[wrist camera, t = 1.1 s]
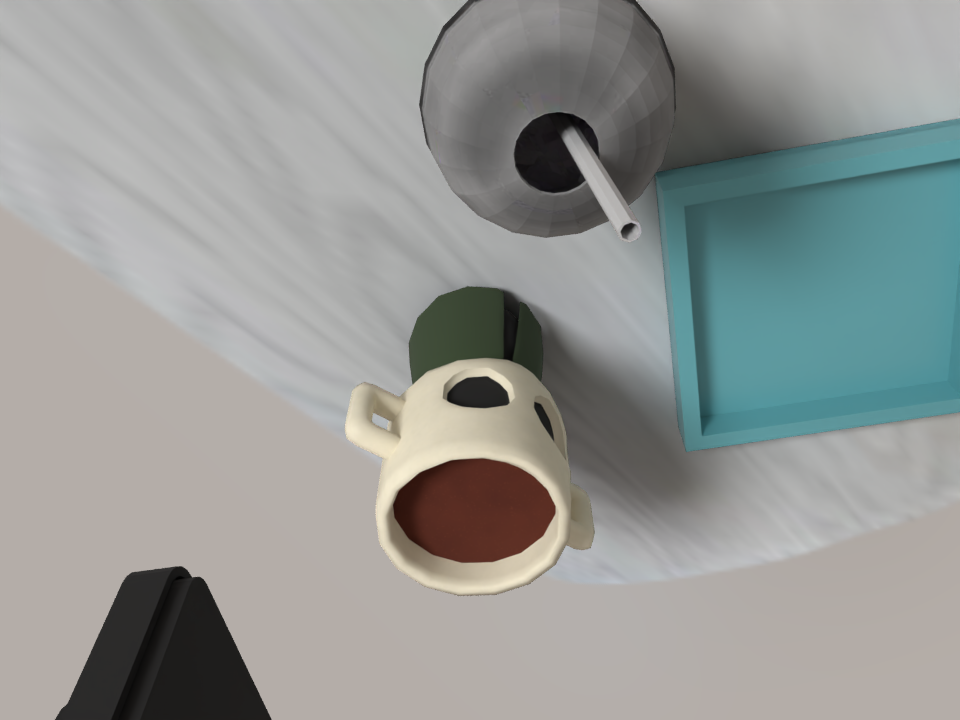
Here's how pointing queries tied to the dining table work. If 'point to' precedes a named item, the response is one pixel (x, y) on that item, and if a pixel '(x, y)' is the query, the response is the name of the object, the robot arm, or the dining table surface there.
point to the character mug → (472, 453)
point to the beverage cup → (549, 111)
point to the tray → (814, 286)
